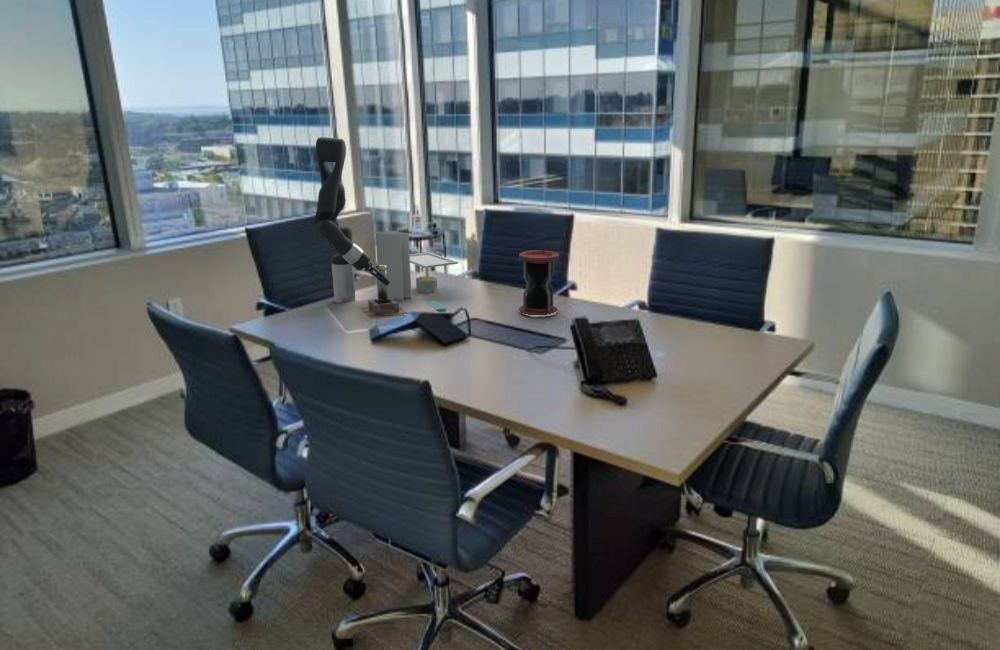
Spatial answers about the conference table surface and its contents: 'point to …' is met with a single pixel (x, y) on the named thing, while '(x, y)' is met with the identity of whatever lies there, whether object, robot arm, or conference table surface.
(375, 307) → the eye block
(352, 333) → the conference table surface
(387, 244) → the tall grey pillar
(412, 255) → the solar panel model
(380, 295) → the steel peg
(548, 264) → the hourglass
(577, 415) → the conference table surface
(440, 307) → the rubber mat
